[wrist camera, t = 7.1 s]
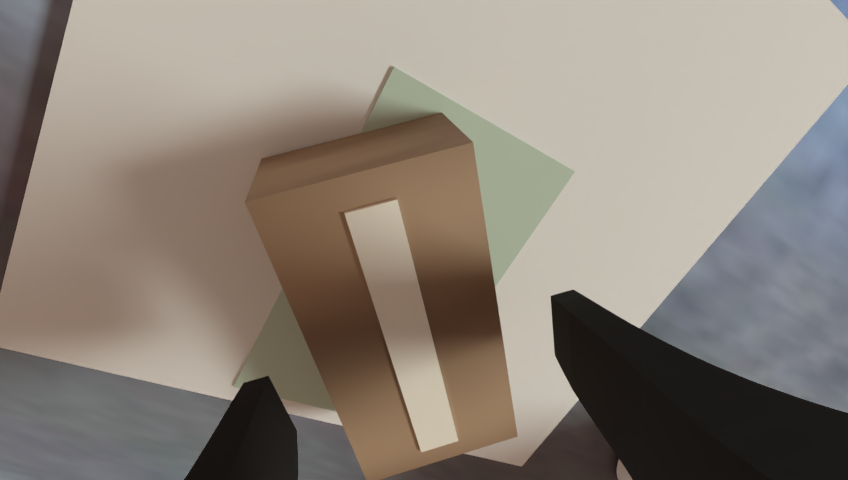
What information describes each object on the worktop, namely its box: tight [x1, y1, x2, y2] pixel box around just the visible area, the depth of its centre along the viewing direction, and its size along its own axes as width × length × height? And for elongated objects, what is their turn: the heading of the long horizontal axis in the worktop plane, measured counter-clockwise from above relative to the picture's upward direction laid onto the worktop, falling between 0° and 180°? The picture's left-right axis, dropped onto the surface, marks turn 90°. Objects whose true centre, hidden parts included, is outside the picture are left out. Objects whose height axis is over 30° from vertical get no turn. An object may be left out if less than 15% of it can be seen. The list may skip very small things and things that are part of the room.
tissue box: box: [245, 113, 518, 480], centre depth 13 cm, size 10×5×3 cm, turn 11°
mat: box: [0, 0, 848, 467], centre depth 14 cm, size 20×20×1 cm
